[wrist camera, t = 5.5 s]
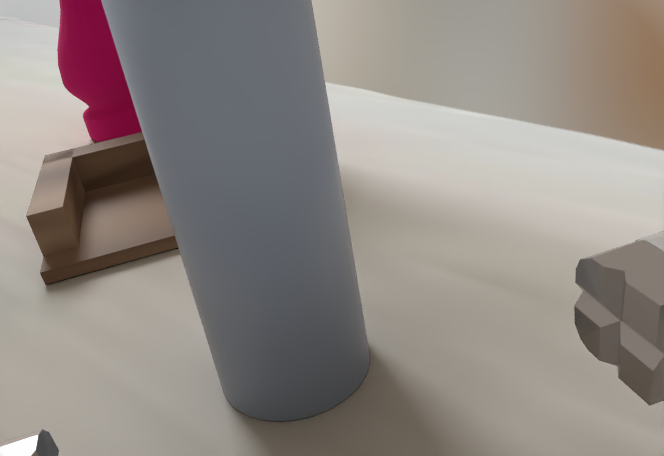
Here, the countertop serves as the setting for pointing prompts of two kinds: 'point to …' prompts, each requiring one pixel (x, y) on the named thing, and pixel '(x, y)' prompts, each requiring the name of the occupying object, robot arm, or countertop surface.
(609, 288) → the robot arm
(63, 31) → the pepper mill
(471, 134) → the countertop surface
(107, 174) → the hanger stand
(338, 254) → the grey tapered cup
